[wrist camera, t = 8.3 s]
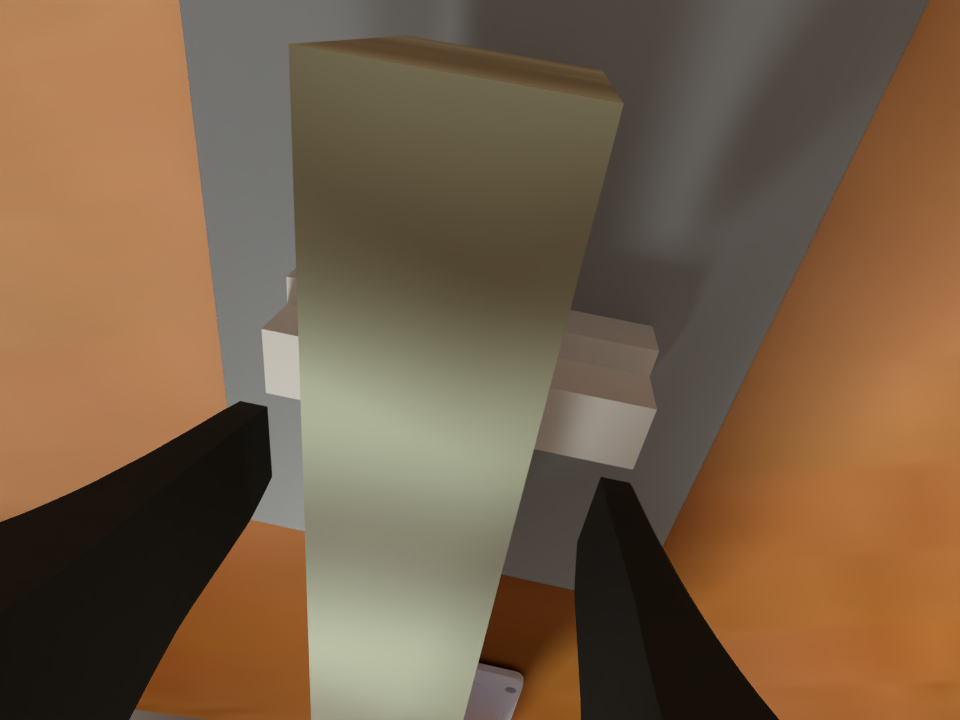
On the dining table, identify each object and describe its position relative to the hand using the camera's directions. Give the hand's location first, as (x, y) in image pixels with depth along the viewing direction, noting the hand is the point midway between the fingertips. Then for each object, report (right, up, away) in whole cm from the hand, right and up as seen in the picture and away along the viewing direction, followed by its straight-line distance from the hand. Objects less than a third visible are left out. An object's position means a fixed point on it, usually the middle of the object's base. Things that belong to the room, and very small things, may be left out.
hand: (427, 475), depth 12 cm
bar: (0, +1, +2) cm, 3 cm away
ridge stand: (+1, +3, +5) cm, 6 cm away
